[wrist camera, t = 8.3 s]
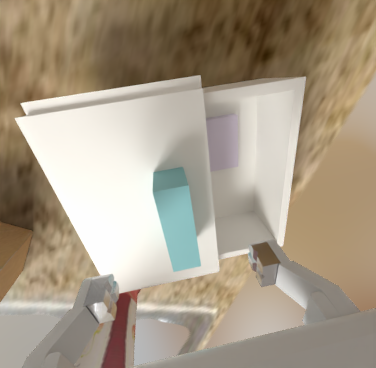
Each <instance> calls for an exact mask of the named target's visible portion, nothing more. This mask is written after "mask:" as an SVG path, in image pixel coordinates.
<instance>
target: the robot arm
mask: <svg viewBox="0 0 376 368" xmlns="http://www.w3.org/2000/svg"><path fill="white" fill-rule="evenodd" d="M248 249H249V251H250V252H249V253H248V259H249V263H250V266H251V268H252V270H254V271H255V272H256V278H257V280H258V282H259V284H260V286H261V287H264V286H268V285H274V284H276V286H277V287H279V288H280V289H281V290H282V291H283V292H285V293H286V294H287V295H289V296H290V297H291V298H292V299H293V300H295V301H296V302H297V303H298V304H300V305H301V306H302V307H303V308H305V309H306V311H305V314H304V317H303V320H302V321H303V322H304V324H305V325H303V326H299V327H295V328H291V329H287V330H282V331H278V332H274V333H270V334H266V335H262V336H257V337H253V338H249V339H245V340H241V341H237V342H233V343H228V344H224V345H220V346H216V347H212V348H207V349H203V350H199V351H195V352H191V353H187V354H182V355H178V356H174V357H170V358H166V359H162V360H158V361H154V362H149V363H145V364H141V365H137V366H132V367H128V368H376V308H374V309H370V310H366V311H360V310H359V309H358V308H357V307H356V306H355V305H354V303H353V302H352V301H351V300H350V299H349V298H348V296H346V294H345V293H344V292H343V291H342V289H341V288H340V287H339V286H337V285H336V284H334V283H332V282H330V281H328V280H327V279H325V278H323V277H321V276H319V275H318V274H316V273H314V272H312V271H311V270H309V269H307V268H305V267H303V266H302V265H300V264H298V263H296V262H294V261H290V260H289V258H288V257H287V256H286V254H285V253H284V252H283V250H282V249H281V247H280V246H279V245H278V243H277V242H276V241H275V240H274V239H271V240H267V241H261V242H257V243H253V244H249V246H248ZM118 299H119V286H118V283H117V282H116V281H114V276H113V274H107V275H102V276H97V277H91V278H86V279H84V280H83V282H82V284H81V287H80V289H79V292H78V295H77V298H76V301H75V303H74V306H73V309H70V310H69V311H68V312H67V313H66V314H65V315H64V317H63V318H62V319H61V320H60V321H59V322H58V323H57V324H56V326H55V327H54V328H53V329H52V330H51V331H50V332H49V333H48V334H47V336H46V337H45V338H44V339H43V340H42V341H41V342H40V344H39V345H38V346H37V347H36V348H35V349H34V350H33V351H32V352H31V354H30V355H29V356H28V357H27V358H26V360H25V362H24V365H23V367H22V368H77V367H76V366H75V363H76V362H77V360H78V358H79V357H80V355H81V354H82V352H83V350H84V349H85V347H86V346H87V344H88V342H89V341H90V339H91V338H92V336H93V334H94V333H95V331H96V330H97V328H98V326H99V324H101V323H105V322H109V321H113V320H115V316H116V311H117V306H116V304H115V303H116V302H117V300H118Z"/></svg>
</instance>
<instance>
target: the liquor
mask: <svg viewBox="0 0 376 368" xmlns="http://www.w3.org/2000/svg"><path fill="white" fill-rule="evenodd" d="M140 290H141V289H138V290H133V291H129V292H124V293H120V294H119V299H118V300H117V302H116V303H115V304H116V306H117V311H116V316H115V320H113V321H109V322H105V323H101V324H99V326H98V328H97V330H96V331H95V333H94V334H93V336H92V338H91V339H90V341H89V342H88V344H87V346H86V347H85V349H84V350H83V352H82V354H81V355H80V357H79V358H78V360H77V362H76V363H75V366H76V367H77V368H128V367H132V366H134V343H135V325H136V309H137V295H138V293H139V292H140Z"/></svg>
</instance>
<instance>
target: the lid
mask: <svg viewBox="0 0 376 368" xmlns="http://www.w3.org/2000/svg"><path fill="white" fill-rule="evenodd" d="M21 105H22V107H23V109H24V111H25V113H26V116H22V117H18V118H15V120H16V122H17V124H18V125H19V127H20V129H21V131H22V133H23V135H24V136H25V138H26V140H27V142H28V144H29V145H30V147H31V149H32V151H33V153H34V155H35V156H36V158H37V160H38V162H39V164H40V166H41V167H42V169H43V171H44V173H45V175H46V177H47V178H48V180H49V182H50V184H51V186H52V187H53V189H54V191H55V193H56V195H57V197H58V198H59V200H60V202H61V204H62V206H63V208H64V209H65V211H66V213H67V215H68V217H69V219H70V220H71V222H72V224H73V226H74V228H75V230H76V231H77V233H78V235H79V237H80V239H81V240H82V242H83V244H84V246H85V248H86V250H87V251H88V253H89V255H90V257H91V259H92V261H93V262H94V264H95V266H96V268H97V270H98V272H99V273H100V275H101V276H102V275H107V274H113V276H114V281H116V282H117V283H118V286H119V294H120V293H124V292H129V291H133V290H138V289H142V288H147V287H152V286H156V285H161V284H165V283H170V282H174V281H179V280H183V279H188V278H193V277H197V276H202V275H206V274H211V273H215V272H219V261H218V250H217V239H216V227H215V216H214V205H213V194H212V183H211V172H210V161H209V150H208V139H207V128H206V116H205V105H204V94H203V88H202V85H201V75H198V76H191V77H185V78H178V79H172V80H166V81H159V82H153V83H147V84H140V85H134V86H127V87H121V88H115V89H108V90H102V91H95V92H89V93H83V94H76V95H70V96H64V97H57V98H51V99H44V100H38V101H32V102H25V103H21Z"/></svg>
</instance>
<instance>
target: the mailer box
mask: <svg viewBox="0 0 376 368" xmlns="http://www.w3.org/2000/svg"><path fill="white" fill-rule="evenodd" d="M305 82H306V77H285V78H261V79H255V80H249V81H242V82H236V83H230V84H224V85H218V86H211V87H205V88H203V94H204V105H205V116H206V128H207V139H208V150H209V161H210V172H211V183H212V194H213V205H214V216H215V227H216V239H217V250H218V260H219V259H224V258H228V257H233V256H238V255H242V254H247V253H249V252H250V251H249V249H248V246H249V244H253V243H257V242H261V241H267V240H271V239H274V240H275V241H276V242H277V243H278V245H279V246H283V243H284V235H285V228H286V221H287V213H288V206H289V199H290V192H291V184H292V177H293V170H294V162H295V155H296V148H297V141H298V133H299V126H300V119H301V111H302V104H303V97H304V89H305Z"/></svg>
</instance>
